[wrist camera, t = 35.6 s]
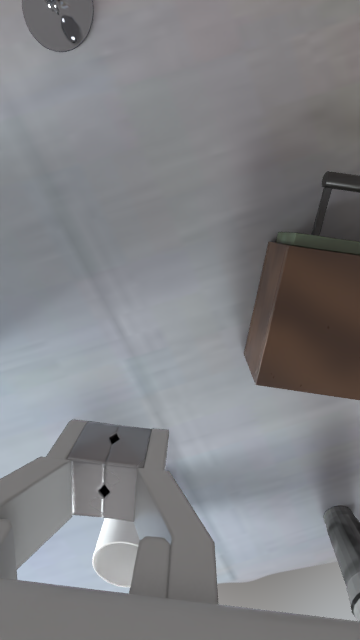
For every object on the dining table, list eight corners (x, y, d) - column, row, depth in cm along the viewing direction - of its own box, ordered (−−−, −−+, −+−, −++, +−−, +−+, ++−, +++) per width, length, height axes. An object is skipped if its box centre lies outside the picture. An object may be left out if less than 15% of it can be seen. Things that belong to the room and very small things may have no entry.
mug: (180, 467, 45) (176, 534, 36) (192, 508, 48) (191, 581, 38) (106, 478, 47) (83, 545, 37) (121, 517, 49) (103, 590, 39)
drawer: (290, 174, 32) (313, 162, 26) (396, 189, 32) (443, 181, 26) (252, 341, 38) (263, 362, 32) (341, 354, 38) (369, 378, 32)
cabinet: (268, 241, 35) (289, 245, 27) (374, 256, 35) (426, 265, 27) (243, 353, 39) (255, 385, 32) (337, 367, 39) (372, 402, 31)
